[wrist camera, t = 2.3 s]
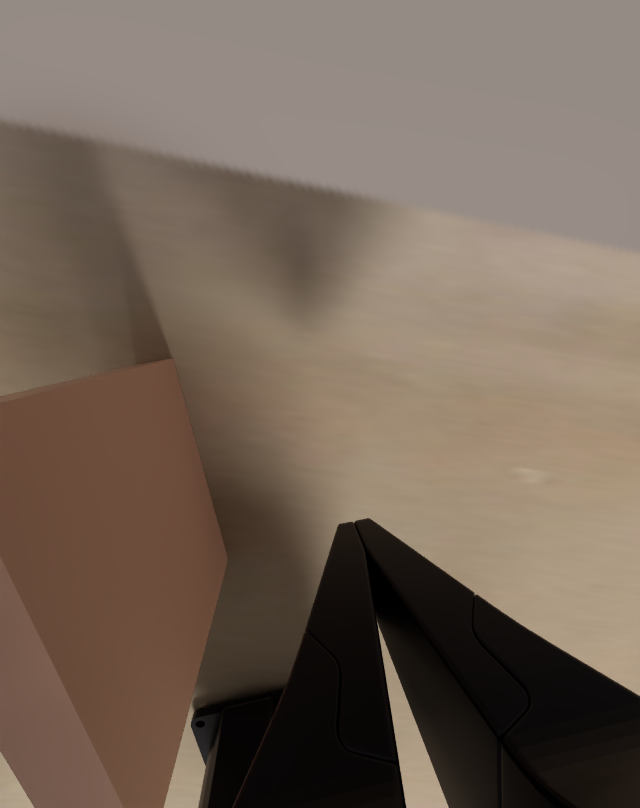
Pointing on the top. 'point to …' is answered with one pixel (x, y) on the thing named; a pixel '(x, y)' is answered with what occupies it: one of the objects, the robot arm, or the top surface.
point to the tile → (102, 585)
